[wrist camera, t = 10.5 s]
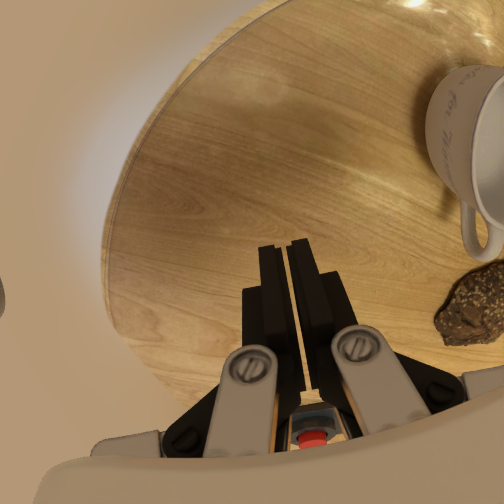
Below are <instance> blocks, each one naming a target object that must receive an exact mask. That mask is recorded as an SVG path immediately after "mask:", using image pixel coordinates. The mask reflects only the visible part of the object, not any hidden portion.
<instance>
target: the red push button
mask: <svg viewBox="0 0 504 504" xmlns="http://www.w3.org/2000/svg"><path fill="white" fill-rule="evenodd" d="M298 442H299V448H301V449H305V448H311V447H316V446H322V445H326V444H327V438H326V432H325V431H318V430H315V431H309V432H305V433H302V434H300V435H298Z"/></svg>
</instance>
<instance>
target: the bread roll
mask: <svg viewBox="0 0 504 504" xmlns="http://www.w3.org/2000/svg"><path fill="white" fill-rule="evenodd" d="M435 327H436V329H437V331H439V332H441V333H443V334H444V335H443V341H444V344H445V345H446V346H449V345H452V346H461V345H464V346H467V345H470V344H480V343H481V344H488V343H490V342H495V341H496V340H497V339H498V337H500V335H501V334H502V333H503V332H504V263H500V264H498V263H493V264H490V265H489V266H488V267H486V268H485V269H483V270H480V271H477V272H474V273H470V274H468V275H467V276H466V277H465V278H463V279H462V280H461V282H460V283H459V285H458V286H457V288H456V289H455V292H454V294H453V296H452V298H451V301H450V304H449V305H448V306H447V307H446V309H444V310H443V311H441V312H440V313H439V314H438V315H437V317H436V319H435Z"/></svg>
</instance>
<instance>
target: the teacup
mask: <svg viewBox="0 0 504 504" xmlns="http://www.w3.org/2000/svg"><path fill="white" fill-rule="evenodd" d="M425 137H426V145H427V150H428V154H429V157H430V160H431V162H432V165H433V167H434V169H435V171H436V173H437V174H438V176H439V177H440V178H441V180H442V181H443V182H444V183H445V185H446V186H447V187H448V188H449V189H450V190H451V191H452V192H453V193H455V194H456V195H457V196H458V198H459V202H460V205H461V234H462V240H463V244H464V247H465V250H466V251H467V253H468V254H469V255H470V257H472V258H473V259H475V260H477V261H479V262H488V261H491V260H493V259H495V258H496V257H497V256H498V255H499V253H500V251H501V250H502V247H503V242H504V67H500V66H492V65H470V66H464V67H461V68H458V69H456V70H454V71H453V72H451V73H449V74H448V75H447V76H446V77H445V78H444V79H443V80H442V81H441V82H440V83H439V84H438V86H437V87H436V89H435V91H434V93H433V95H432V97H431V99H430V102H429V105H428V109H427V114H426V122H425ZM475 210H476V211H478V212H479V213H480V214H481V215H482V218H483V219H484V221H485V223H486V226H487V229H488V241H487V244H486V246H485V248H482V247H481V245H480V244H479V241H478V238H477V233H476V222H475Z"/></svg>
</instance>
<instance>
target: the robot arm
mask: <svg viewBox="0 0 504 504" xmlns="http://www.w3.org/2000/svg"><path fill="white" fill-rule="evenodd" d="M291 243H292V245H290V246H286V249H287V255H288V260H289V266H290V272H291V277H292V283H293V289H294V294H295V300H296V306H297V312H298V317H299V322H300V327H301V332H302V338H303V343H304V348H305V354H306V359H307V365H308V370H309V376H310V382H311V387H312V390H313V389H319V394H320V397H321V398H322V400H323V401H325V402H327V403H329V404H330V405H332V406H333V407H334V412H335V414H336V417H337V419H338V421H339V424H340V426H341V429H342V431H343V434H344V437H345V439H346V441H341V442H337V443H332V444H327V445H322V446H316V447H311V448H305V449H298V450H292V451H290V444H291V430H292V413H293V412H294V411H295V410H296V409H297V408H298V407H299V405H300V404H301V396H300V392H302V391H306V385H305V378H304V372H303V366H302V360H301V354H300V349H299V343H298V337H297V331H296V326H295V320H294V314H293V309H292V303H291V298H290V292H289V287H288V282H287V276H286V271H285V266H284V261H283V255H282V250H281V247H280V248H275V247H274V244H273V245H268V246H263V247H258V251H259V264H260V277H261V286H256V287H250V288H245V289H243V290H242V347H241V348H238V349H237V350H235V351H234V352H232V353H231V354H230V355H229V356H228V358H227V359H226V361H225V363H224V366H223V370H222V374H221V379H220V383H219V384H218V385H217V386H216V387H215V388H214V389H213V390H211V391H210V392H209V393H208V394H207V395H206V396H205V397H203V398H202V399H201V400H200V401H199V402H198V403H197V404H195V405H194V406H193V407H192V408H191V409H190V410H188V411H187V412H186V413H185V414H184V415H182V416H181V417H180V418H179V419H178V420H176V421H175V422H174V423H173V424H172V425H171V426H170V427H169V428H168V429H167V430H166V431H163V432H159V431H158V430H153V431H149V432H144V433H138V434H133V435H128V436H122V437H116V438H109V439H105V440H102V441H99V442H98V443H97V444H96V445H95V446H94V447H93V449H92V450H91V454H90V456H89V457H82V458H77V459H73V460H70V461H66V462H63V463H61V464H58V465H56V466H54V467H53V468H51V469H50V470H49V471H48V472H47V473H46V474H45V476H44V477H43V479H42V481H41V482H40V485H39V487H38V490H37V493H36V495H35V498H34V502H33V504H504V365H503V366H498V367H493V368H488V369H482V370H476V371H470V372H464V373H463V374H462V376H458V377H456V376H454V375H452V374H450V373H448V372H445V371H443V370H440V369H437V368H435V367H432V366H430V365H427V364H424V363H422V362H419V361H417V360H414V359H412V358H409V357H406V356H404V355H401V354H399V353H396V352H394V351H393V350H392V349H391V347H390V346H389V344H388V343H387V341H386V339H385V338H384V336H383V335H382V334H381V333H380V332H379V331H378V330H377V329H375V328H373V327H371V326H367V325H358V322H357V319H356V317H355V314H354V311H353V309H352V306H351V304H350V301H349V299H348V296H347V294H346V291H345V289H344V286H343V284H342V281H341V279H340V276H339V274H338V272H337V271H333V272H328V273H323V274H319V271H318V268H317V265H316V263H315V260H314V257H313V254H312V251H311V248H310V245H309V242H308V239H307V238H304V239H299V240H294V241H291Z"/></svg>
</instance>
